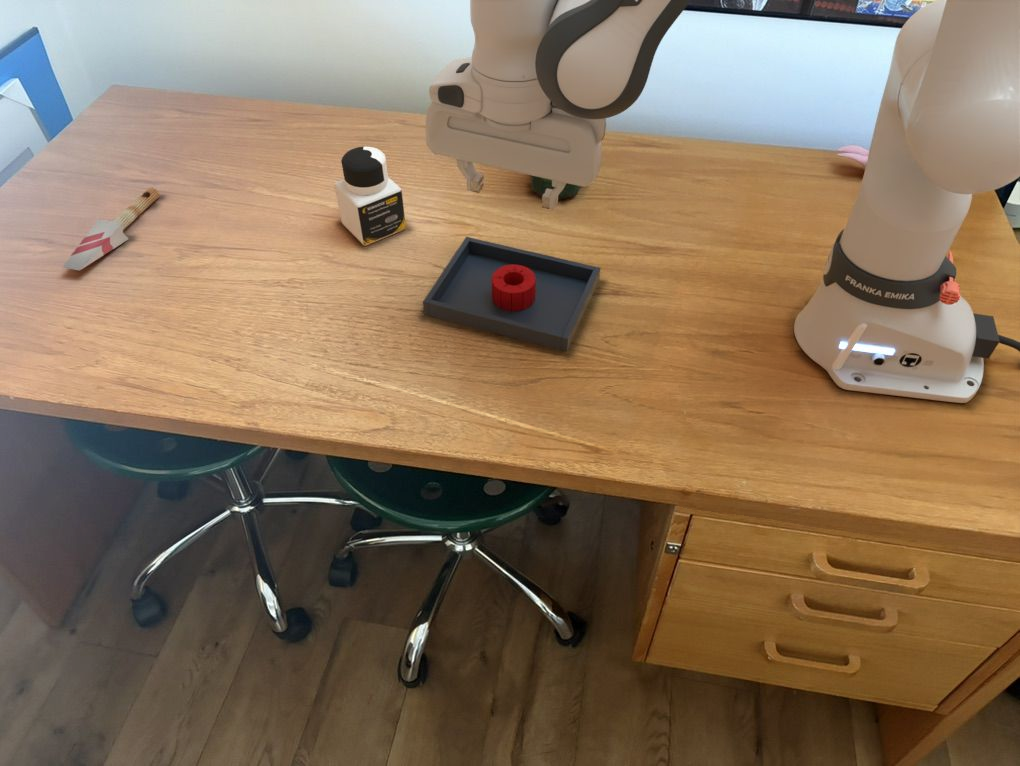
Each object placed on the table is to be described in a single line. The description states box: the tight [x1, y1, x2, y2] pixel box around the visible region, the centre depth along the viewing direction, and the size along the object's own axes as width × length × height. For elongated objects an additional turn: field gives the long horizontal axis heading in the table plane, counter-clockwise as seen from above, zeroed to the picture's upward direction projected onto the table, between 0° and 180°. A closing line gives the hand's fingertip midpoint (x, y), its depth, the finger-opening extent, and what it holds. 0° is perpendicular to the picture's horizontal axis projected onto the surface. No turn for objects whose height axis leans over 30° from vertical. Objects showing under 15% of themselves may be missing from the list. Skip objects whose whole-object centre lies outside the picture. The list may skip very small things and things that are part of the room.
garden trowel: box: [62, 187, 160, 272], centre depth 115 cm, size 4×3×20 cm
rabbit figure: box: [836, 144, 870, 171], centre depth 124 cm, size 6×6×15 cm
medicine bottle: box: [334, 146, 407, 247], centre depth 113 cm, size 7×7×12 cm
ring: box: [491, 264, 536, 311], centre depth 105 cm, size 6×6×3 cm
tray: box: [422, 236, 601, 352], centre depth 106 cm, size 20×15×3 cm
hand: (512, 197), depth 95 cm, fingers open, 8 cm apart
